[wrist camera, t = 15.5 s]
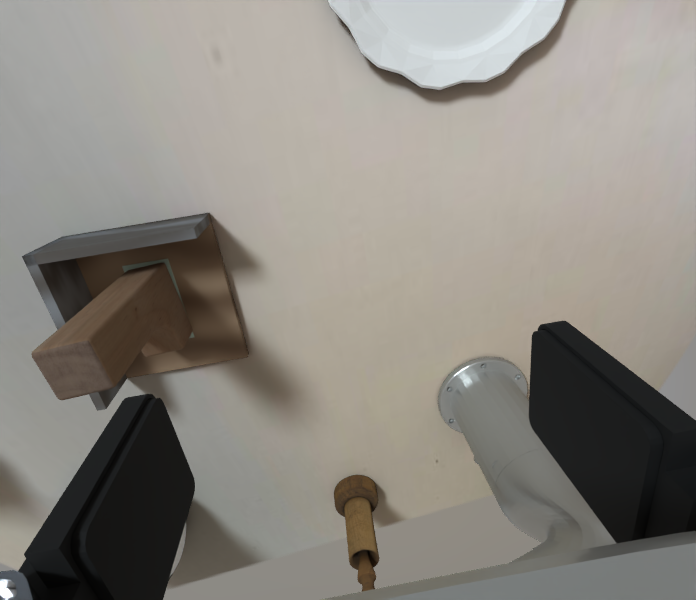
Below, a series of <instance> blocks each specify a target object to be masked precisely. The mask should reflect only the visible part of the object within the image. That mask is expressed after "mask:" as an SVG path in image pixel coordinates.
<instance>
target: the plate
mask: <svg viewBox="0 0 696 600" xmlns="http://www.w3.org/2000/svg"><path fill="white" fill-rule="evenodd" d="M328 2H329V5H330V7H331V9H332V10H333V11H334V12H335V13H336V14H337V15H338V17H339V18H340V19H341V20H342V21H343V22H344V23H345V25H346V26H347V27H348V28H349V30H350V32H351V34H352V35H353V37H354V39H355V41H356V43H357V45H358V47H359V49H360V51H361V53H362V54H363V55H364V56H365V57H366V58H367V59H368V60H370V61H371V62H372V63H373V64H374V65H375V66H376V67H378V68H381V69H384V70H388V71H391V72H395V73H398V74H401V75H403V76H404V77H406V78H407V79H409V80H410V81H412V82H413V83H415V84H416V85H418V86H419V87H422V88H429V89H437V90H441V89H444V88H447V87H450V86H453V85H457V84H460V83H463V82H487V81H489V80H491V79H493V78H495V77H497V76H499V75H502V74H504V73H505V72H506V71H507V70H508V69H509V68H510V67H511V65H512V64H513V63H514V62H515V61H516V60H517V59H518V58H519V57H520V56H521V55H522V54H523V53H524V52H526V51H528V50H529V49H531V48H532V47H534V46H535V45H537V44H538V43H540V42H542V41H543V40H544V39H545V38H546V37H547V36H548V34H549V33H550V32H551V30H552V29H553V28H554V26H555V25H556V24H557V23H558V21H559V19H560V16H561V14H562V11H563V8H564V5H565V3H566V0H328Z"/></svg>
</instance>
